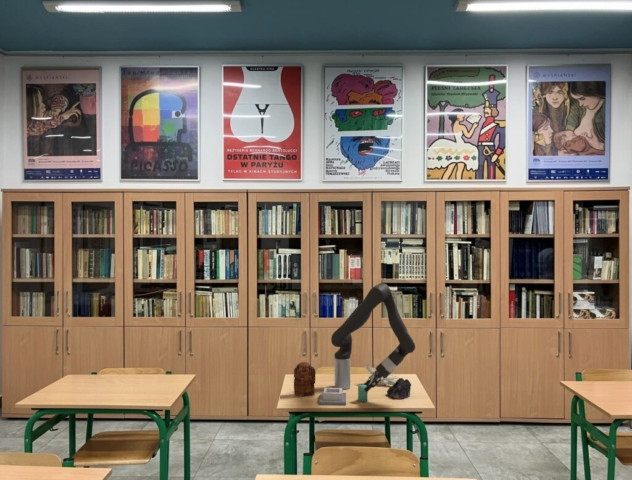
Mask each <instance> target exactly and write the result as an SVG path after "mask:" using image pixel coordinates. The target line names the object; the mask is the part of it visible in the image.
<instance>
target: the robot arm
mask: <svg viewBox="0 0 632 480" xmlns="http://www.w3.org/2000/svg"><path fill="white" fill-rule="evenodd" d="M381 303H383V304H384V306H385V309H386V313H387V318H388V323H389V325H390V329H391V330H392V332H393V334H394V336H395V337H396V338H397V340H398V343H399V344H398V345H397V346H396V348H395V349H394V350H392V351H391V352H390V353H389V355H388V356H387V357H385V358H384V359H383V360H382V361H381V362H380V363H379V364H378V365H377V366H376V367H375V372H374V373H373V374H372V373H371V374H370V376H368V379H367V380H366V381H365V382H364V383H363V385H367V386H366V387H365V388H364V390H365V391H366V392H367V393H368V392H369V391H370V390H371V389H374V388H375V387H377V385H378V384H379V383H381V382H380V381H381V379H380V378H381V377H383V378H386V377H390V376H391V375H392V374H391V373H393V372H394V371H395V370H396V368H397V367H398V366H399V365H400V364H401V363H402V362H403V361H404V358H405V357H406V356H407V355H408V354H412V353H413V352H414V351H415V350H416V344H415V342H414V340H413V338H412V337H411V335H410V334H409V332H408V329H407V326H406V325H405V323H404V321H403V319H402V317H401V314H400V313H399V310H398V307H397V305H396V302H395V299H394V297H393V294H392V291H391V289H390V286H389V285H387V284H386V283H385V282H381V283H378V284H376V285H374V286H373V287H371V289H370V290H369V291H368V292H367V295H366V296H365V298H364V299H363V300H362V301H361V302H360V303H359V304H358V305H357V307H355V309H354V310H353V311H352V312H351V314H350V315H349V316H348V317H347V319H346V320H344V322H343V323H342V325H340V326H339V327H338V328H337V329H336V330H335V331H334V332H333V333H332V335H331V338H330V339H331V340H330V341H331V344H332V346H333V347H336V348H339V349H338V350H337V351H335V353H334V388H342V390H348V389H350V388H351V355H352V351H353V350H352V348H353V347H352V346H353V338H352V337H353V336H352V333H354V332H356V331H357V330H359V329H360V328H362V327H363V326H364V325H365V324H366V322H368V320H369V319H370V317H371V314H372V312H373V310H374V309H375V308H376V307H377V306H379V305H380V304H381ZM383 378H382V379H383Z"/></svg>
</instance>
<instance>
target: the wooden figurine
mask: <svg viewBox="0 0 632 480" xmlns="http://www.w3.org/2000/svg"><path fill="white" fill-rule="evenodd" d="M315 369H316V368H314V366H312V365H311V364H310V363H309V362H306V361H301V362H299V363H298V364H297V365H296V367H295V368H293V391H294V393H293V394H294V395H295V396H298V397H310V396H314V395H315V384H316V370H315Z"/></svg>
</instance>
